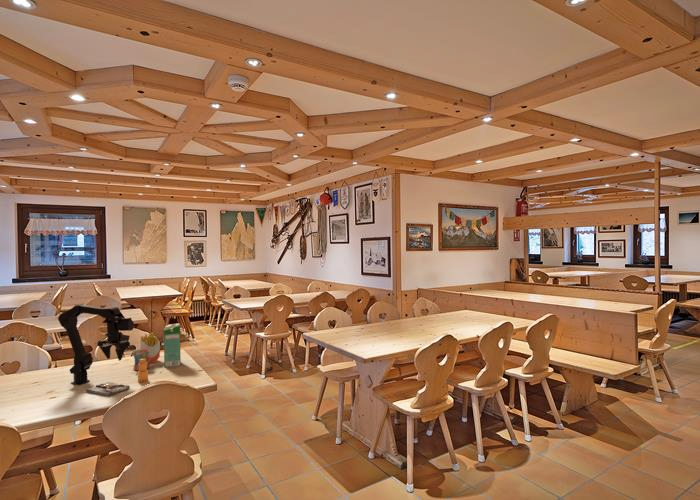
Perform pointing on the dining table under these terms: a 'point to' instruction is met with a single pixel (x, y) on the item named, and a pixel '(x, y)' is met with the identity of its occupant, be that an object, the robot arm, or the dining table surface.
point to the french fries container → (150, 347)
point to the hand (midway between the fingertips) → (114, 359)
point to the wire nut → (142, 371)
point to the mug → (140, 357)
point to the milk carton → (172, 345)
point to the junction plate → (108, 389)
